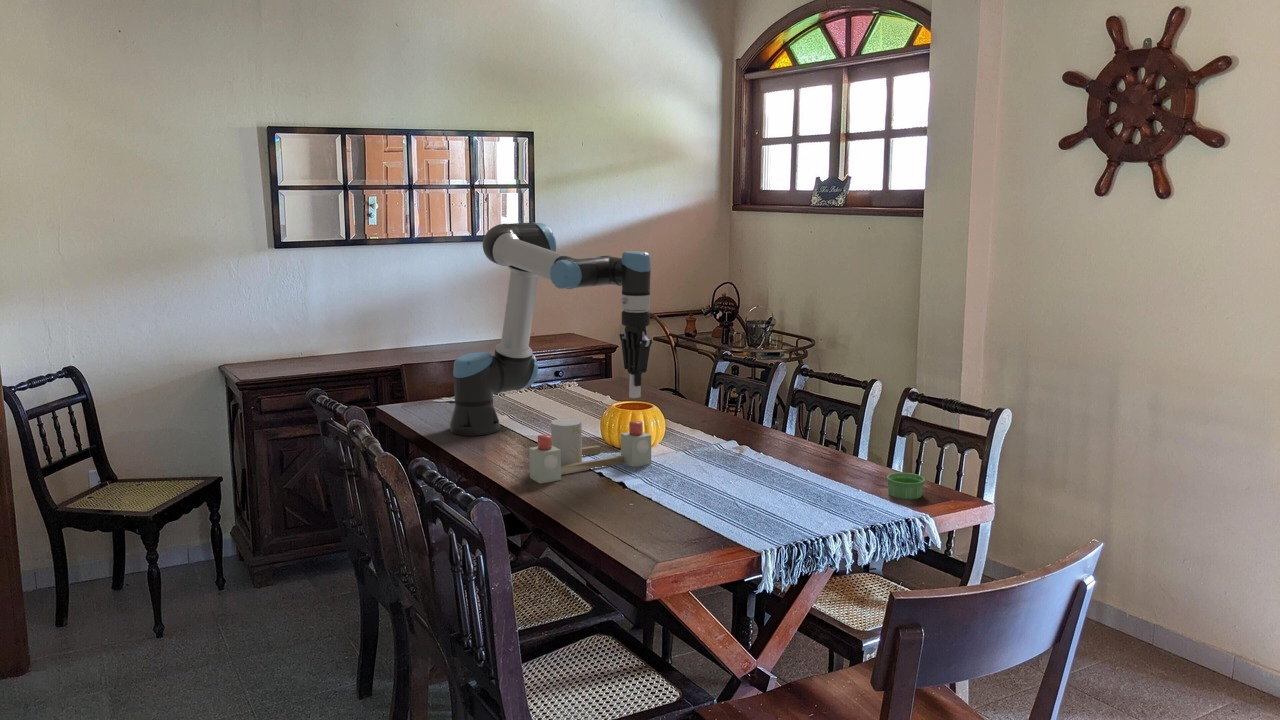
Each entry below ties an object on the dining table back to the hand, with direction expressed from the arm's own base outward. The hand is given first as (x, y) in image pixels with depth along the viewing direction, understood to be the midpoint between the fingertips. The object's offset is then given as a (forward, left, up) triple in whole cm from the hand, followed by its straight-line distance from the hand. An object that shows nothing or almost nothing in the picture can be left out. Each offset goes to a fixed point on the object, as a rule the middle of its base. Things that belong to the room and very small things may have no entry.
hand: (634, 397), depth 270 cm
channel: (-8, -13, -18) cm, 24 cm away
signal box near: (0, -27, -18) cm, 33 cm away
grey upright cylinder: (-8, -17, -19) cm, 26 cm away
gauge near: (0, -27, -10) cm, 29 cm away
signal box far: (0, 0, -18) cm, 18 cm away
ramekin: (+59, +41, -19) cm, 74 cm away
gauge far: (0, 0, -10) cm, 10 cm away
